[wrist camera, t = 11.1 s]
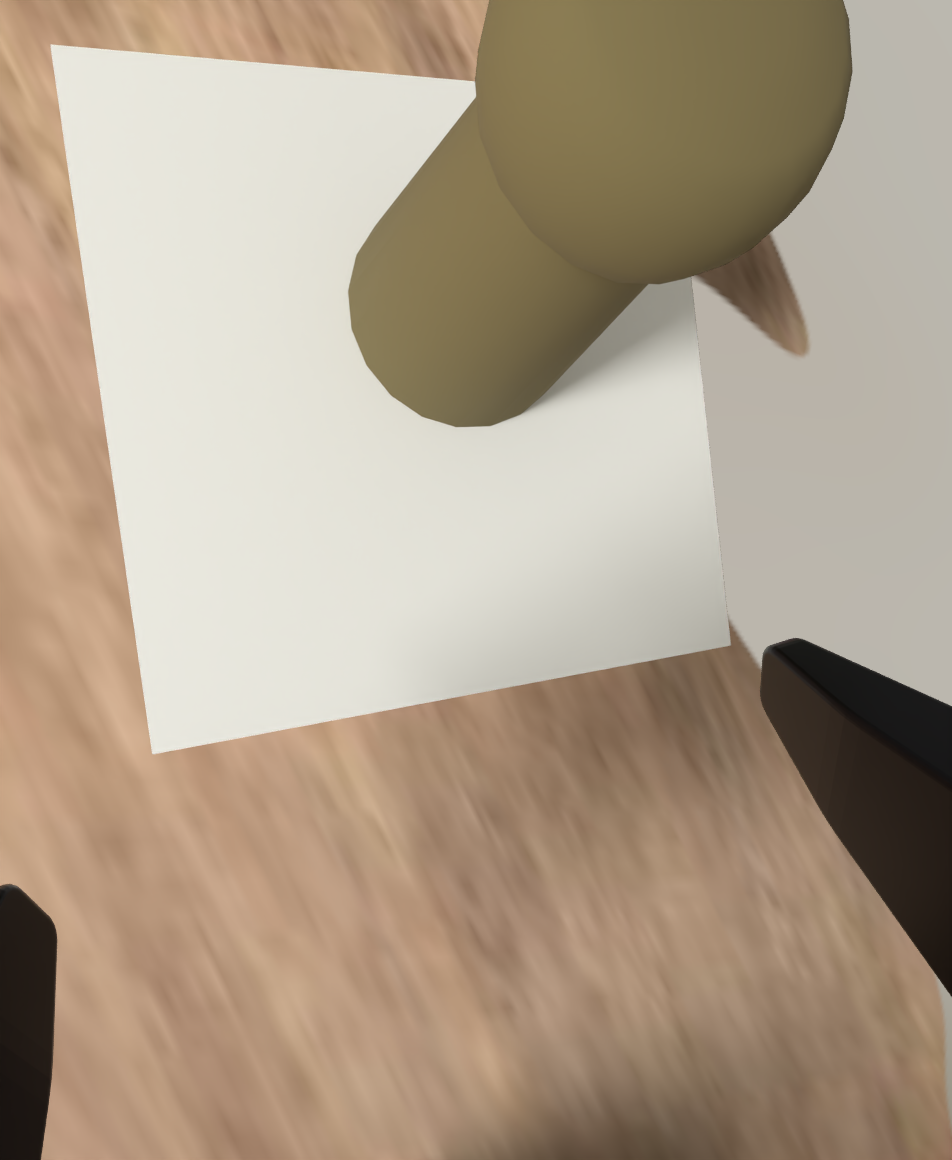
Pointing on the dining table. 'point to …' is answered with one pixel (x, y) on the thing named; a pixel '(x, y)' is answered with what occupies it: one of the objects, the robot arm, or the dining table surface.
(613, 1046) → the dining table surface
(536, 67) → the cork
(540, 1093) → the dining table surface
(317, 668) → the base block
